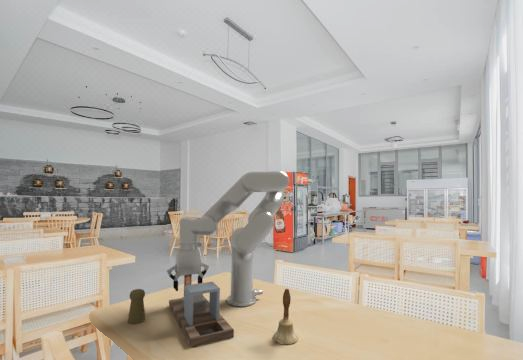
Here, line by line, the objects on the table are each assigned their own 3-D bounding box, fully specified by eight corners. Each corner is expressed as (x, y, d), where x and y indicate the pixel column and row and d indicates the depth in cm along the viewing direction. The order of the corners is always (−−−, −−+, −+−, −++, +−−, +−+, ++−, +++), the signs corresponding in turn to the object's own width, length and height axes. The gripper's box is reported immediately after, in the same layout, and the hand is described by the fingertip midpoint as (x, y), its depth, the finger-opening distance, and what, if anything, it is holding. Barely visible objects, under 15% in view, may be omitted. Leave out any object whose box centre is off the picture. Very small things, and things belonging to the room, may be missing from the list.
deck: (233, 337, 97) (233, 329, 97) (191, 347, 90) (191, 339, 90) (202, 300, 127) (202, 294, 127) (168, 306, 121) (169, 300, 121)
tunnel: (219, 319, 104) (219, 288, 104) (189, 325, 99) (190, 292, 99) (211, 311, 111) (212, 281, 111) (184, 316, 106) (184, 285, 106)
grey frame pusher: (206, 308, 112) (206, 283, 112) (186, 312, 108) (187, 285, 109) (195, 295, 125) (195, 272, 126) (177, 298, 122) (178, 274, 122)
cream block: (198, 304, 116) (199, 289, 116) (202, 309, 112) (203, 293, 112) (186, 307, 114) (186, 291, 114) (189, 312, 110) (189, 295, 110)
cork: (139, 325, 104) (139, 293, 104) (123, 323, 105) (124, 292, 106) (148, 317, 110) (149, 288, 110) (134, 316, 111) (135, 286, 111)
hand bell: (291, 330, 102) (292, 284, 102) (302, 342, 94) (303, 292, 94) (269, 334, 99) (270, 286, 100) (278, 346, 91) (279, 294, 92)
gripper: (206, 243, 130) (205, 282, 130) (165, 247, 122) (164, 288, 122) (211, 246, 124) (210, 287, 123) (169, 250, 116) (168, 294, 115)
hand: (188, 288), depth 123 cm, fingers open, 9 cm apart
